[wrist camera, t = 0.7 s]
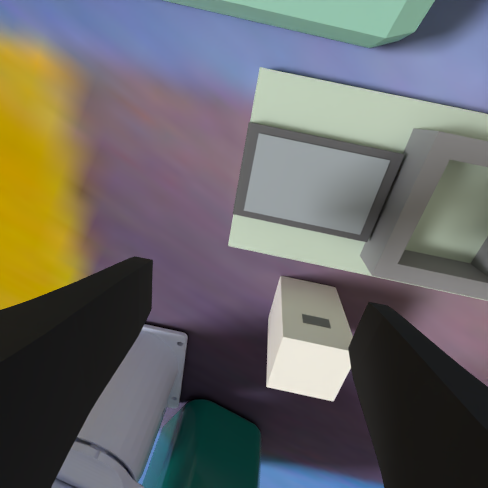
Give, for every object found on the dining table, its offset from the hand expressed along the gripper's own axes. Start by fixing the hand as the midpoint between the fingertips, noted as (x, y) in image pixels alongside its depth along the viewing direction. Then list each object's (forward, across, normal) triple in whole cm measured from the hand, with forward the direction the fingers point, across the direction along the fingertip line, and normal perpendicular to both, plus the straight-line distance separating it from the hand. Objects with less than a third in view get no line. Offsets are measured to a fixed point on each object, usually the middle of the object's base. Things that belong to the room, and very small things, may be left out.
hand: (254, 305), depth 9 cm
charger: (+10, -4, +6) cm, 12 cm away
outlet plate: (+10, -7, -3) cm, 12 cm away
